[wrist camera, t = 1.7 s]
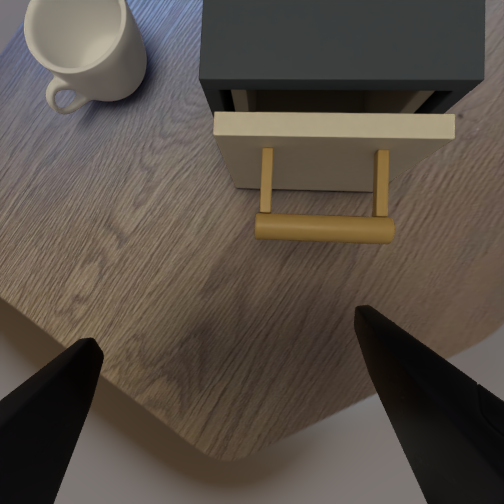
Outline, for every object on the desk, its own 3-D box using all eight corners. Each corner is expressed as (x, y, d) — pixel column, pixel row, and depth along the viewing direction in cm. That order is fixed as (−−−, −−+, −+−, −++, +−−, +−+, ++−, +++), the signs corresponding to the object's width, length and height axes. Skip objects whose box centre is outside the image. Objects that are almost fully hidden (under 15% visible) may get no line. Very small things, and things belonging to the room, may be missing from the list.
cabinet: (378, 169, 23) (484, 79, 12) (231, 165, 23) (198, 78, 12) (383, 14, 23) (488, -213, 12) (238, 16, 24) (213, -196, 13)
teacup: (104, 18, 25) (58, -50, 19) (174, 55, 24) (147, -5, 19) (49, 111, 25) (-12, 69, 19) (118, 151, 24) (75, 118, 19)
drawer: (373, 252, 22) (453, 244, 12) (232, 246, 22) (207, 234, 13) (379, 42, 22) (459, -116, 13) (242, 43, 23) (225, -106, 14)
